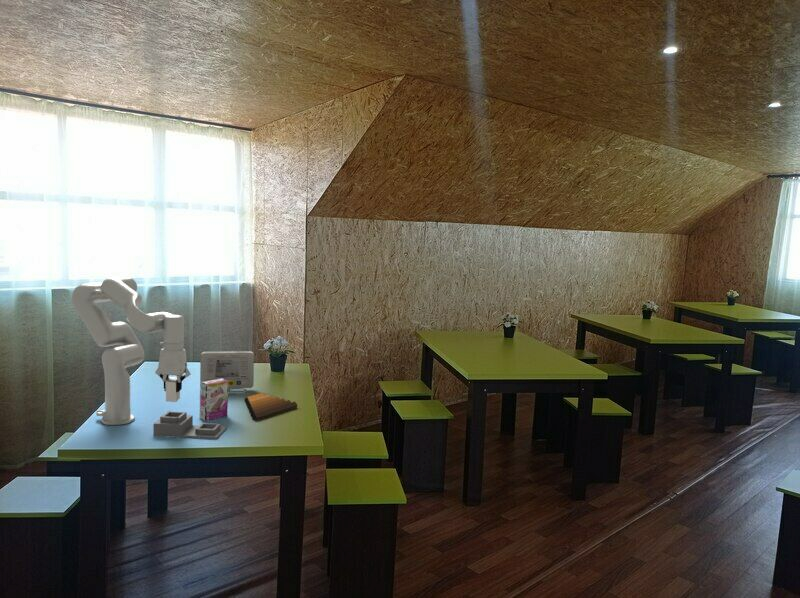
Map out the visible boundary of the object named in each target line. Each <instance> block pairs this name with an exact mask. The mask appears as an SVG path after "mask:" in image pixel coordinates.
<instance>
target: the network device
mask: <svg viewBox="0 0 800 598" xmlns="http://www.w3.org/2000/svg"><path fill="white" fill-rule="evenodd" d="M254 363H255V353H254V352H253V351H248V350H247V351H246V350H245V351H239V350H237V351H235V350H234V351H232V350H231V351H203V352H201V353H200V363H199V365H200V367H199V368H200V370H199V371H200V373H199V374H200V377H199V380H200V382H205V381H210V380H216V379H222V378H223V379H226V380H228V393H236V394H245V392H246V393H247V389H251V388H253V387H254V380H255V378H254V375H255V374H254V373H255V372H254V369H255V367H254V366H255V364H254ZM230 389H231V390H243V391H231V390H230Z"/></svg>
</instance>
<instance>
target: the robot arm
mask: <svg viewBox="0 0 800 598" xmlns="http://www.w3.org/2000/svg"><path fill="white" fill-rule="evenodd" d="M137 291H138V284H137V282H136V281H135V280H134V279H133V278H132V277H130V276H126V275H125V276H123V275H122V276H112V277H108V278H106V279H104V280H103V281H102V282H101V281H99V282H88V283H87V282H86V283H83V284H79V285H78V286H76V287H74V289H73V290H72V295H71V301H72V302H71V303H72V306H73V308H74V310H75V311H76V313H77V314H78V316H79V317H80V318H81V320H82V321H83V323H84V324H85V326H86V328H87V330H88V332H89V333H90V335H91V336H92V339H93V340H94V342H95V344H96V345H97V346H98V347H101V348H105V347H109V348H106V349H105V350H104V352H103V353H102V354H101V364H102V368H103V373H104V409H97V410H96V413H95V414H96V416H99V417H101V419H100V422H101V424H103V425H106V426H121V425H126V424H129V423H131V422H133V421H134V420H135V415H134V414H132V413H131V377H130V374H129V373H128V371H127V368H129V367H133V366H137V365H139V364H141V363H142V362H143V361H144V359H145V349H144V347H143V346H142V344H141V342H140V340H139V339H138V337H137V335H136V334H135V332H134V330H133V328H135V329H136V330H137V331H140V333H143V334H152V333H156V332H162V331H163V340H162V341H161V342H159V346H161V347H162V348H160V351H159V357H158V358H159V359H158V365H157V369H156V370H155V372H154V373H155V374H156V375H157V376H159V378H160V379H161V380H162V382H163V389H164V390H163V391H164V392H166V383H165V380H166V379H167V378H168V377H170V376H175V377H177V383H176V392H179V391H180V392H181V390H182V389H183V386H182V385H183V381H184V380H185V379H186V378H189V377H190V376H191V372H190V370H189V368H188V360H187V352H186V349H185V348H184V347H185V346H184V345H185V342H184V341H185V339H184V338H185V318H184V315H181V314H173V313H170V312H166V311H160V312H159V311H158V312H157V311H156V312H151V313H145V312H143V311H142V310H141V309H139V307H140V306H141V305H142V301H143V296H142V295H141V294H140V293H139V292H137ZM106 302H114V303H115V304H116V305H117V306H119V307H120V308H121V309H123V310H124V314H125V317H126V320H127V322H124V321H115V322H113V321H110V319H109V318H108V316H107V314H106V313H105V311H104V310H103V309H101V308H100V307H99V306H97V305H96V304H99V303H106ZM129 324H130V325H129ZM132 327H133V328H132Z"/></svg>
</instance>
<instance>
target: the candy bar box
mask: <svg viewBox="0 0 800 598" xmlns="http://www.w3.org/2000/svg"><path fill="white" fill-rule="evenodd" d="M199 385H200V386H199V419H200V420H201V421H203V422H209V421H212V420H216V419H217V420H218V419H221V418H226V417H227V416H228V409H229V408H228V401H229V398H228V397H229V394H228V380H226V379H223V378H222V379H216V380H210V381H205V382H200V383H199Z"/></svg>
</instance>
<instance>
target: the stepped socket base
mask: <svg viewBox="0 0 800 598" xmlns="http://www.w3.org/2000/svg"><path fill="white" fill-rule="evenodd" d="M193 422H194V421H193V415H191V414H187V412H186V411H172V410H167V411H166V412H165V413H164V414H162V415H161V416H160V417H159V419H158V420H156V421H155V422H153V424H152V425H153V426H152V427H153V430H152V431H153V434H152V435H153V436H154V437H165V436H174V437H173V438H184V439H185V438H187V439H204V438H206V439H208V440H218V438H219V437H221V435H222V434H224V432H225V431H226V430H227V426H221V425H222V424H221V423H214V422H213V423H209V422H201V423H200V424H199V425H196V424H195V425H193Z"/></svg>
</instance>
